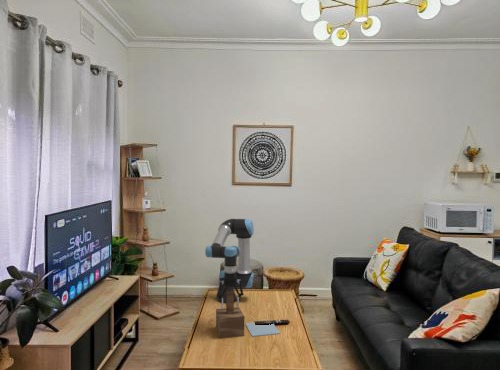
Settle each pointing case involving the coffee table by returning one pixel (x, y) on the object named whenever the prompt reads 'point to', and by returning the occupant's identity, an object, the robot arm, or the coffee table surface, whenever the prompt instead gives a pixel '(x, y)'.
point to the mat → (261, 329)
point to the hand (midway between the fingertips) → (230, 307)
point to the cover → (229, 318)
